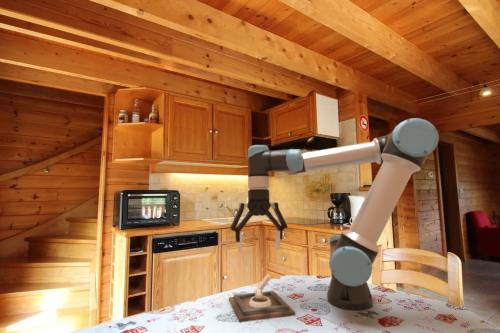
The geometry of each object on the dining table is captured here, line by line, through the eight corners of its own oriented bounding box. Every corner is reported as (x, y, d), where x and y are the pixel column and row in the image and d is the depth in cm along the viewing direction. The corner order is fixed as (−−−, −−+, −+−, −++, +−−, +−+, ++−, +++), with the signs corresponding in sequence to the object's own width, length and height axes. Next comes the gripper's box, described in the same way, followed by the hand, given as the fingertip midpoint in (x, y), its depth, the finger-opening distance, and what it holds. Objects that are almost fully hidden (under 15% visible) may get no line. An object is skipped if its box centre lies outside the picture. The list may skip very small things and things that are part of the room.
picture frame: (275, 295, 103) (275, 289, 103) (295, 315, 86) (295, 307, 86) (228, 300, 98) (228, 293, 99) (239, 322, 81) (239, 314, 81)
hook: (286, 291, 89) (269, 280, 88) (265, 321, 89) (247, 310, 88) (281, 280, 96) (265, 269, 95) (261, 307, 96) (246, 297, 95)
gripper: (287, 189, 103) (288, 246, 101) (222, 189, 97) (222, 250, 94) (295, 188, 96) (297, 250, 94) (225, 188, 90) (225, 254, 87)
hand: (259, 250), depth 94 cm, fingers open, 13 cm apart
